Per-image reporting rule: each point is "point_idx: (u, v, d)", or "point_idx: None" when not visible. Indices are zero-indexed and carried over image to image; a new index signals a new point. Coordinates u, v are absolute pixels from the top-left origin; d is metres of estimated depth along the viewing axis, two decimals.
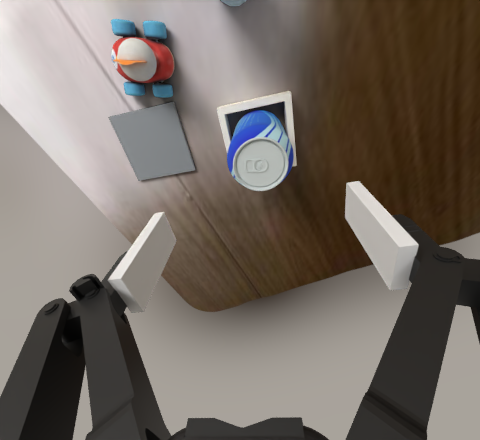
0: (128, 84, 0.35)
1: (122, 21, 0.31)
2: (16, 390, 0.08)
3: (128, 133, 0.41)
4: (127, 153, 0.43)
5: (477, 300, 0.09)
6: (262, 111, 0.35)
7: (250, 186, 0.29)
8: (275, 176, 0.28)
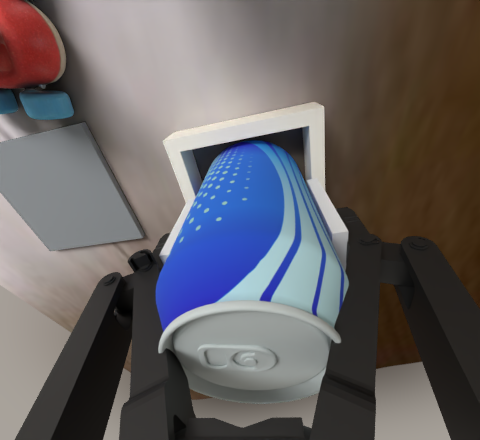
0: None
1: None
2: (71, 353, 0.09)
3: (11, 179, 0.22)
4: (19, 211, 0.24)
5: (393, 277, 0.10)
6: (259, 147, 0.16)
7: (224, 391, 0.10)
8: (298, 377, 0.09)
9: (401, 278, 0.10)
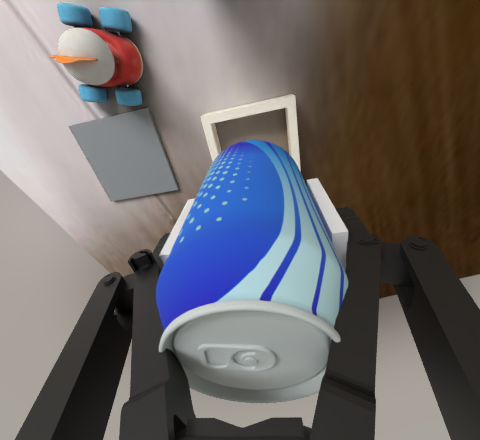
0: (83, 87, 0.28)
1: (70, 6, 0.24)
2: (71, 353, 0.09)
3: (94, 146, 0.33)
4: (95, 169, 0.35)
5: (393, 277, 0.10)
6: (259, 147, 0.16)
7: (224, 390, 0.10)
8: (298, 377, 0.09)
9: (401, 278, 0.10)
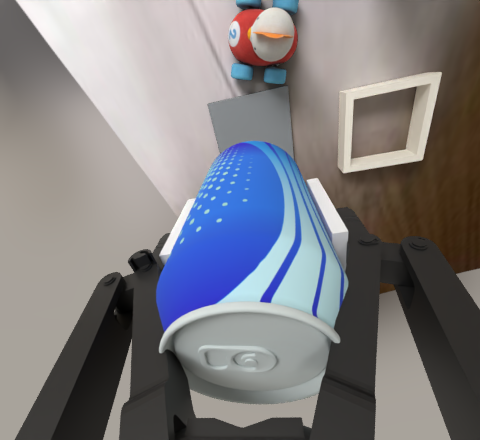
0: (240, 65, 0.30)
1: None
2: (71, 353, 0.09)
3: (226, 123, 0.36)
4: (220, 146, 0.38)
5: (393, 277, 0.10)
6: (260, 147, 0.16)
7: (224, 391, 0.10)
8: (298, 378, 0.09)
9: (401, 278, 0.10)
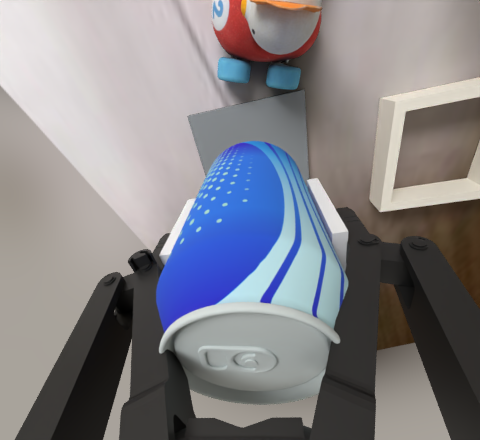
0: (231, 61, 0.19)
1: None
2: (71, 354, 0.09)
3: (215, 142, 0.25)
4: (207, 173, 0.27)
5: (393, 277, 0.10)
6: (260, 147, 0.16)
7: (224, 392, 0.10)
8: (298, 378, 0.09)
9: (401, 278, 0.10)
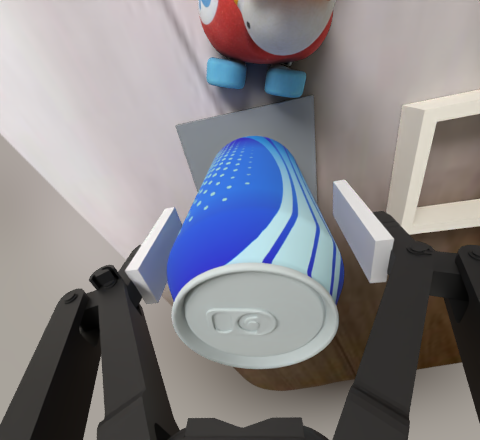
0: (222, 62, 0.16)
1: None
2: (35, 376, 0.08)
3: (209, 156, 0.22)
4: None
5: (447, 291, 0.09)
6: (260, 141, 0.18)
7: (228, 357, 0.11)
8: (296, 342, 0.10)
9: (457, 292, 0.09)
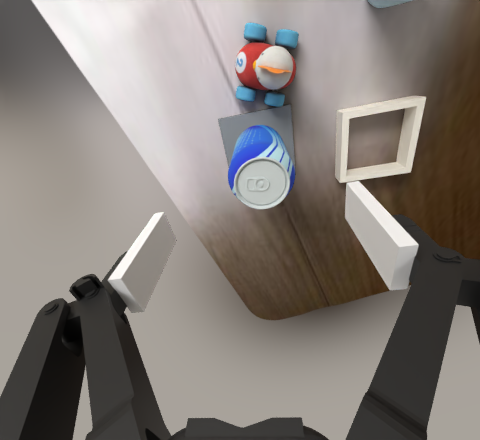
0: (244, 89, 0.34)
1: (260, 26, 0.30)
2: (16, 390, 0.08)
3: (235, 136, 0.40)
4: (228, 157, 0.41)
5: (477, 301, 0.09)
6: (263, 127, 0.35)
7: (251, 205, 0.29)
8: (276, 195, 0.28)
9: None
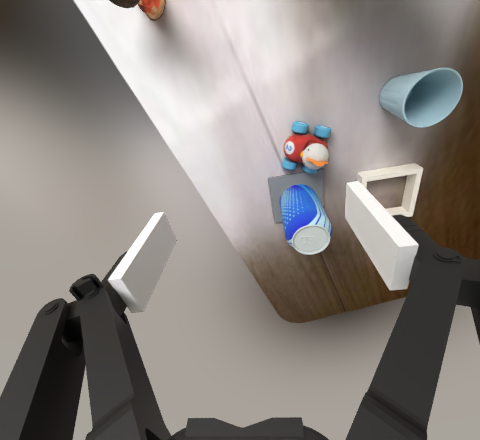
0: (290, 163, 0.47)
1: (305, 126, 0.43)
2: (16, 390, 0.08)
3: (279, 190, 0.53)
4: (273, 203, 0.55)
5: (477, 300, 0.09)
6: (303, 188, 0.49)
7: (302, 251, 0.42)
8: (320, 245, 0.41)
9: None
